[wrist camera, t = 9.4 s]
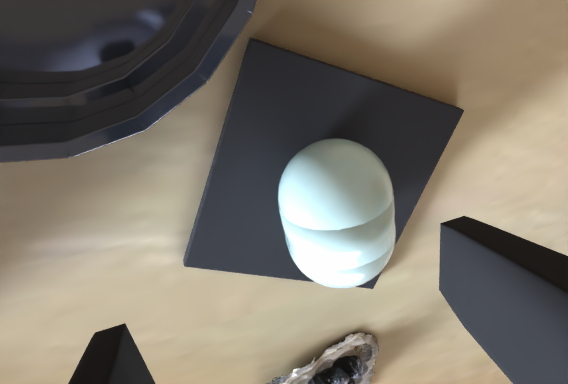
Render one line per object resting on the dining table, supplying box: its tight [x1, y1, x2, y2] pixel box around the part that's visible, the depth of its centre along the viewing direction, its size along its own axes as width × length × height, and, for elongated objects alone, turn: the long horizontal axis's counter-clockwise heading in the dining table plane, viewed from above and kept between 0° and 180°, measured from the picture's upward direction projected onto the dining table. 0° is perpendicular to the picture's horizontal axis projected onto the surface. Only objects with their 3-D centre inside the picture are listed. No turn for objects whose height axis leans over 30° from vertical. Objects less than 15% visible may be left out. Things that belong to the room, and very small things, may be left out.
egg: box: [278, 138, 396, 288], centre depth 17 cm, size 6×4×4 cm
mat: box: [183, 37, 464, 289], centre depth 19 cm, size 10×10×1 cm
